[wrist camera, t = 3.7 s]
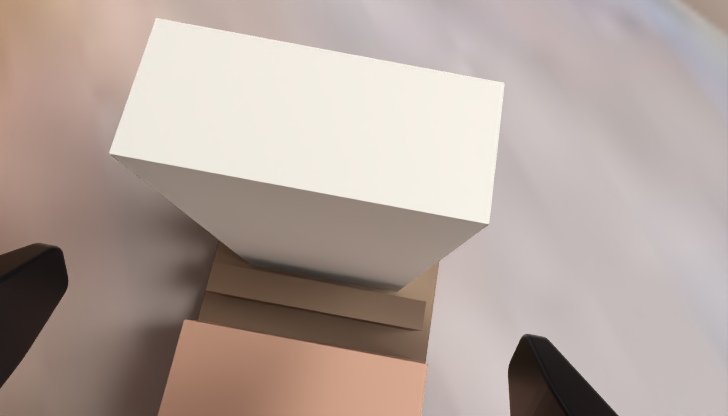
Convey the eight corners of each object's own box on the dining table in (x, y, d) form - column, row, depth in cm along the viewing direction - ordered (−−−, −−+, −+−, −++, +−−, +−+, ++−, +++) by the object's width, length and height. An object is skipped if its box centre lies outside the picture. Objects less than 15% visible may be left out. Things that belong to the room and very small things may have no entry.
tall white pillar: (397, 291, 19) (488, 224, 7) (250, 264, 19) (108, 153, 7) (406, 232, 20) (504, 82, 8) (265, 205, 19) (156, 18, 8)
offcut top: (399, 506, 15) (406, 525, 14) (160, 462, 15) (140, 476, 14) (419, 361, 17) (428, 364, 15) (198, 320, 17) (184, 319, 15)
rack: (401, 506, 18) (415, 543, 14) (166, 463, 18) (128, 490, 14) (443, 204, 21) (461, 181, 18) (243, 167, 21) (227, 137, 18)
